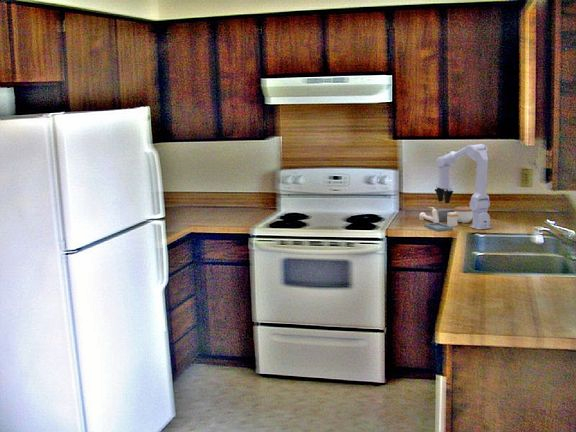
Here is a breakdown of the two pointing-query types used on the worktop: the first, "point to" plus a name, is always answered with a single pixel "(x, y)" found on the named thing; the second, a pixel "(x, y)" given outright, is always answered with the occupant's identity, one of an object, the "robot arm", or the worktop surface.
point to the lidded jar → (464, 214)
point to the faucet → (433, 218)
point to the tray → (438, 226)
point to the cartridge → (452, 219)
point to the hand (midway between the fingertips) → (443, 202)
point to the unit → (443, 214)
